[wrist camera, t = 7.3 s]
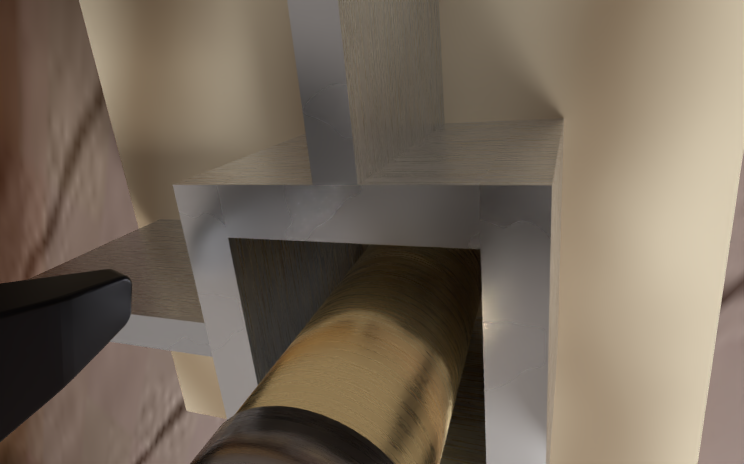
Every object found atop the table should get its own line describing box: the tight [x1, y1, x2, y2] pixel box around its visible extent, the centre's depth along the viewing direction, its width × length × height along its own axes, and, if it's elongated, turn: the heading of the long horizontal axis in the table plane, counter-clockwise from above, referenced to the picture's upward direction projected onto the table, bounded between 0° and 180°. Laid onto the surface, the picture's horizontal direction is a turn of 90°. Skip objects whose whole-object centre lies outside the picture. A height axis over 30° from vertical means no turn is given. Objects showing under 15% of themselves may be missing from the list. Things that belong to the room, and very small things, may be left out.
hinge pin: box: [190, 244, 482, 464], centre depth 10 cm, size 3×3×10 cm
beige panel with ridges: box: [28, 0, 744, 464], centre depth 13 cm, size 18×20×8 cm
